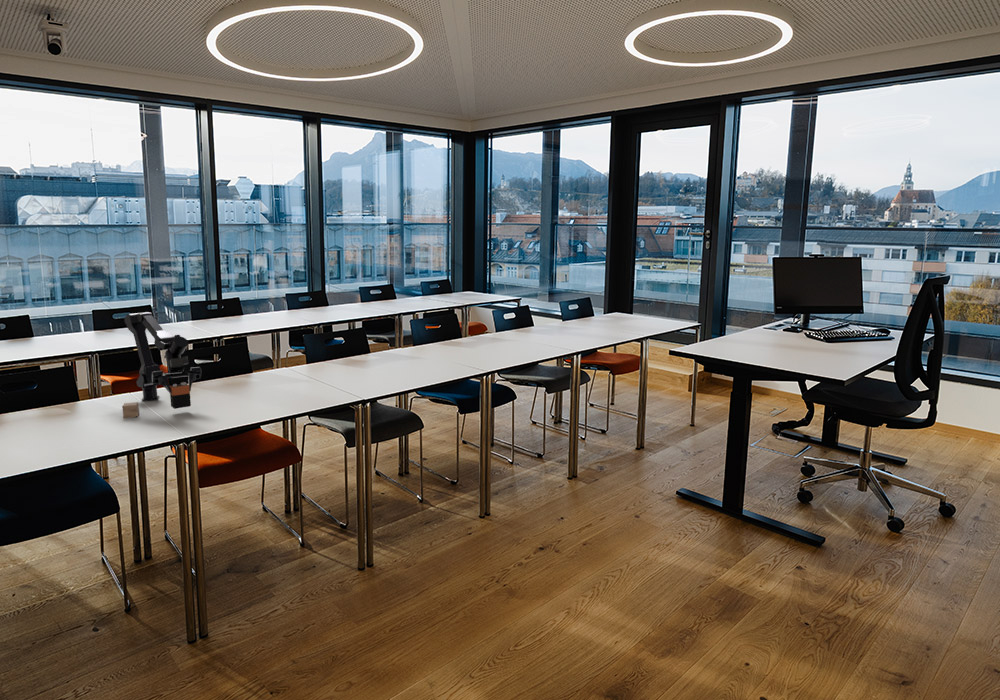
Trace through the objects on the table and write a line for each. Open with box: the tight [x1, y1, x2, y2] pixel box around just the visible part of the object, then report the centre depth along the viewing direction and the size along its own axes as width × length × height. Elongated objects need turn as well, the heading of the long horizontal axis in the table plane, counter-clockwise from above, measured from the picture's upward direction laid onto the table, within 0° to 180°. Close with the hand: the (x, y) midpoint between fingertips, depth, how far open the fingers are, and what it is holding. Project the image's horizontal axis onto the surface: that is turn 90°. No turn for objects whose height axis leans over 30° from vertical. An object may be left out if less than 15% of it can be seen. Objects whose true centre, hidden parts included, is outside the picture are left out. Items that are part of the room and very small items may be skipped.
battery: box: [169, 381, 192, 409], centre depth 282 cm, size 4×7×10 cm, turn 131°
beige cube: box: [122, 401, 140, 419], centre depth 278 cm, size 5×5×5 cm
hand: (180, 391), depth 281 cm, fingers closed on battery, 7 cm apart
